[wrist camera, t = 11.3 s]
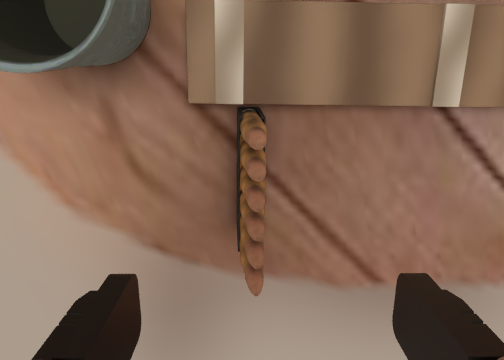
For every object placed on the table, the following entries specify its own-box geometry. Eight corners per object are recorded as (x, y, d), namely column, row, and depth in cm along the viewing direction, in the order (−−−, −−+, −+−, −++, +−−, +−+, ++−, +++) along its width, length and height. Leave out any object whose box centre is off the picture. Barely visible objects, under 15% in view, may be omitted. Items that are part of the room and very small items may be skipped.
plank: (525, 13, 29) (559, 5, 26) (507, 104, 31) (537, 107, 28) (190, 6, 28) (184, -3, 25) (193, 100, 30) (187, 103, 27)
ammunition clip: (257, 228, 34) (272, 308, 22) (236, 228, 34) (240, 309, 22) (260, 107, 31) (278, 127, 19) (237, 107, 31) (241, 126, 19)
